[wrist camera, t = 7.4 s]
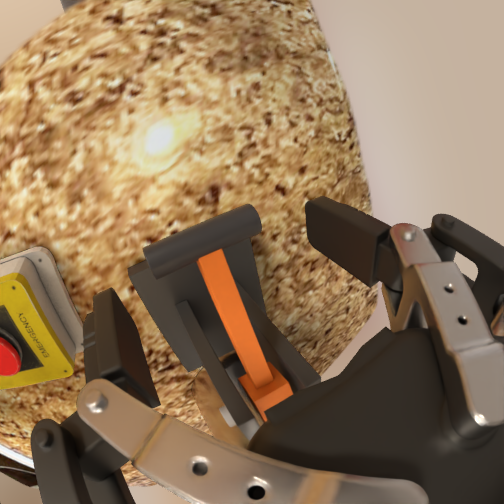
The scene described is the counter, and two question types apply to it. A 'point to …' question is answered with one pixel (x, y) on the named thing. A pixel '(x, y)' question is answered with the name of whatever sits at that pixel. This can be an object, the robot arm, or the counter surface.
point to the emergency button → (36, 321)
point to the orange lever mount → (218, 328)
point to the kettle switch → (224, 293)
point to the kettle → (212, 401)
